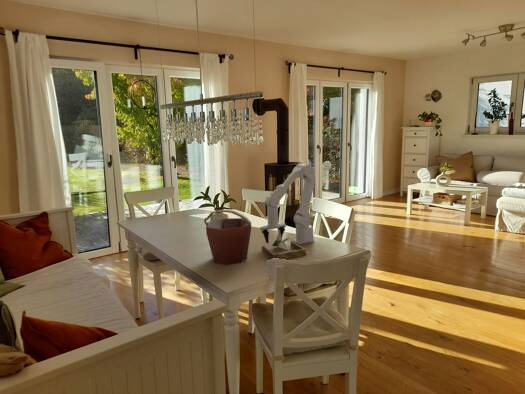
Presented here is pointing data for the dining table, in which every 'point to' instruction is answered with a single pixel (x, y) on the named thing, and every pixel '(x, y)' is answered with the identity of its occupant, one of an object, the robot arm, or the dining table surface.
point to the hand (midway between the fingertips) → (273, 241)
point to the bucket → (228, 238)
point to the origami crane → (279, 242)
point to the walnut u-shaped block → (296, 252)
